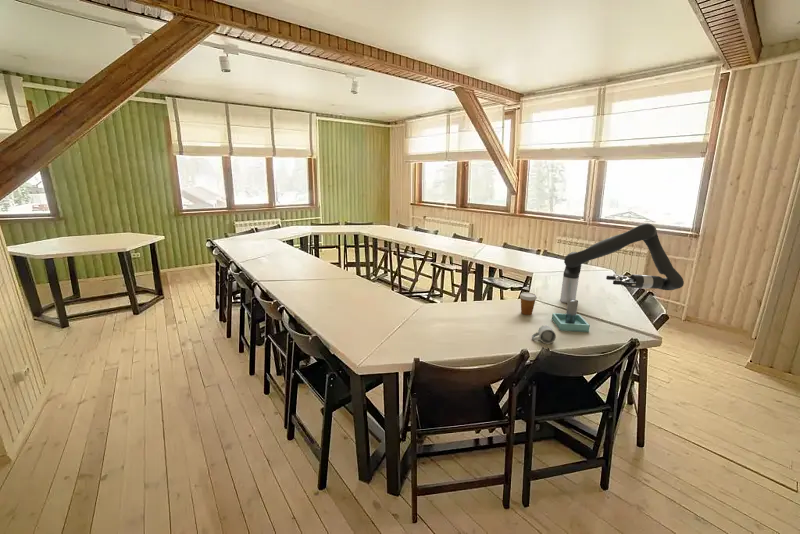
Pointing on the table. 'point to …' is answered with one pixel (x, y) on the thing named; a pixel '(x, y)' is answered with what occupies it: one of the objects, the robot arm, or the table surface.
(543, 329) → the ceramic mug
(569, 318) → the charcoal metal canister
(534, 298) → the disposable coffee cup
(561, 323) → the teal box
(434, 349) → the table surface
